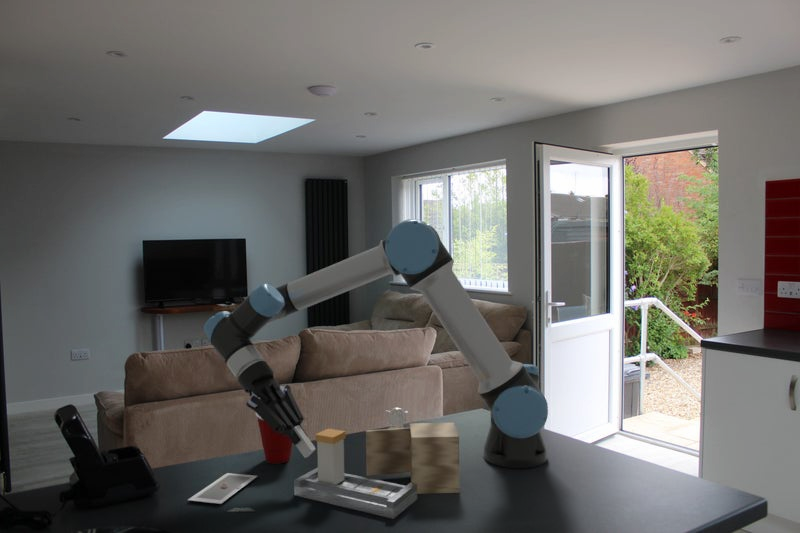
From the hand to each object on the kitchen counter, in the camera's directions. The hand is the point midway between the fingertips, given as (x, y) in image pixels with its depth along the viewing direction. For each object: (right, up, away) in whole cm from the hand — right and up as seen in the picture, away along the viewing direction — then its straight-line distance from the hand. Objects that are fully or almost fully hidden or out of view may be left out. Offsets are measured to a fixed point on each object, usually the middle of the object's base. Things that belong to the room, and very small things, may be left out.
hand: (310, 453), depth 130 cm
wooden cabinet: (+22, -7, +1) cm, 23 cm away
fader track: (+10, -8, -5) cm, 14 cm away
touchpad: (-18, -9, 0) cm, 20 cm away
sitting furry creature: (+19, -7, +19) cm, 28 cm away
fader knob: (+5, -5, -2) cm, 7 cm away
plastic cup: (-10, -7, +18) cm, 22 cm away
